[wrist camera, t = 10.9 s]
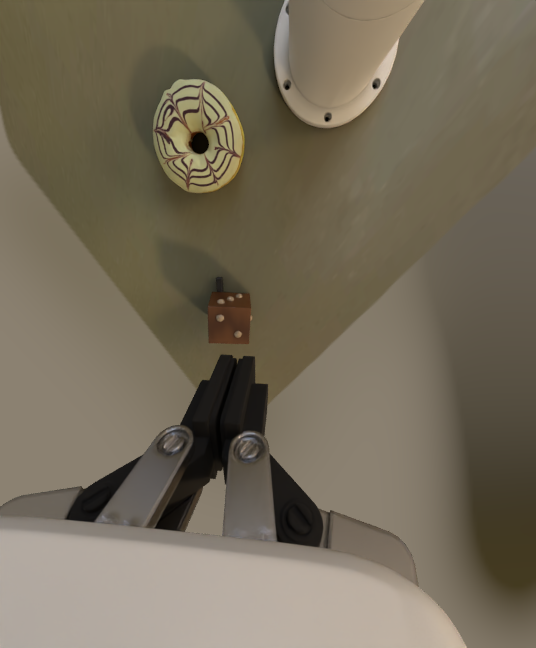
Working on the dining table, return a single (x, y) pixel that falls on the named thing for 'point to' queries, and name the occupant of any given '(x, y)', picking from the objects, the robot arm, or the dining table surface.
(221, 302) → the die
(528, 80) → the dining table surface
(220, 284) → the stop strip
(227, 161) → the decorated donut
